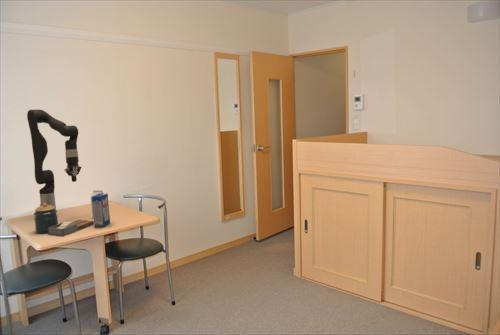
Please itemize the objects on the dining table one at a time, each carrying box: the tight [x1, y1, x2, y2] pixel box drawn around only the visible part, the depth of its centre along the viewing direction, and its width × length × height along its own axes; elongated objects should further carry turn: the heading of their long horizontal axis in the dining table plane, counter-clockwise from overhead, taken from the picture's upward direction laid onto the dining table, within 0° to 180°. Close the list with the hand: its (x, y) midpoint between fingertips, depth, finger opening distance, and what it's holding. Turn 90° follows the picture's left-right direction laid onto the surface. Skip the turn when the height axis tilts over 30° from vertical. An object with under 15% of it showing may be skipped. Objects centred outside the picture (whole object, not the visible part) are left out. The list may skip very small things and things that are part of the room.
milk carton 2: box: [91, 192, 111, 229], centre depth 254 cm, size 10×6×20 cm, turn 178°
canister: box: [33, 203, 59, 234], centre depth 247 cm, size 13×13×18 cm
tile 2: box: [60, 221, 73, 227], centre depth 245 cm, size 5×5×3 cm
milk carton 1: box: [90, 189, 104, 219], centre depth 275 cm, size 7×7×19 cm
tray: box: [47, 222, 78, 237], centre depth 242 cm, size 12×11×4 cm
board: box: [71, 219, 94, 232], centre depth 254 cm, size 12×14×2 cm
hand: (74, 181), depth 266 cm, fingers closed
